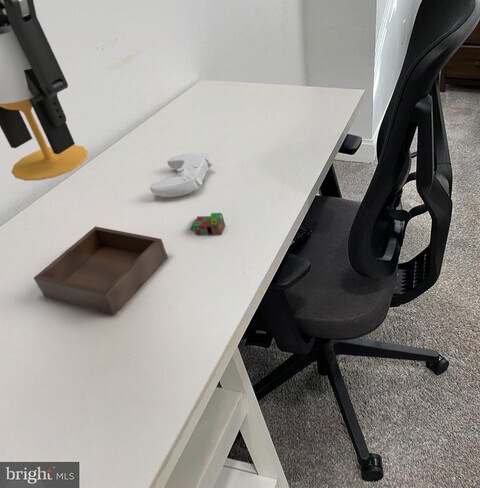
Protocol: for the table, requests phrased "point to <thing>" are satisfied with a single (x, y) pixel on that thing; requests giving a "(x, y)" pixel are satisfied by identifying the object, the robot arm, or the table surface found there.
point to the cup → (30, 117)
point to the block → (209, 224)
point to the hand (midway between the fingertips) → (42, 145)
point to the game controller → (183, 175)
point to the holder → (102, 269)
